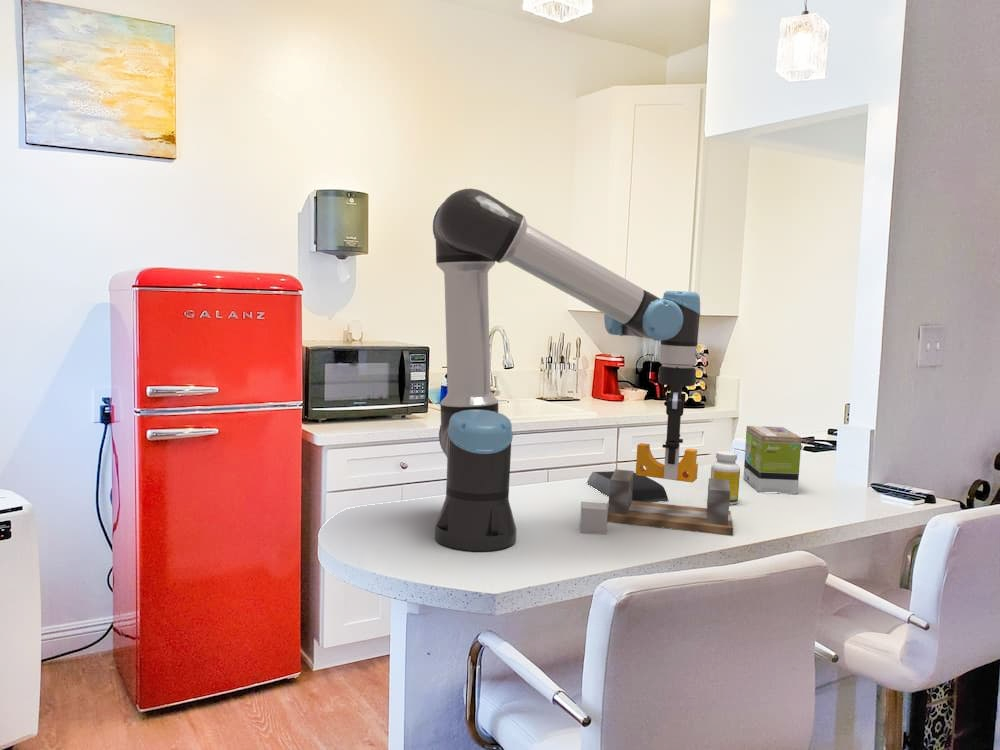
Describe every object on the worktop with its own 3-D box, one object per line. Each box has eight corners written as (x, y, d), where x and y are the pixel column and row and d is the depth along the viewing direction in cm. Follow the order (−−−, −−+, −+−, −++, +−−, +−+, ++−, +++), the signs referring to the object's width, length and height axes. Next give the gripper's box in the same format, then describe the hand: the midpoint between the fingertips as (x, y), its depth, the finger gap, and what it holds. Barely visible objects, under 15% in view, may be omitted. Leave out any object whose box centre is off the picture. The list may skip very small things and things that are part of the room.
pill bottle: (739, 506, 182) (743, 456, 181) (710, 504, 183) (714, 454, 182) (735, 499, 188) (739, 451, 187) (707, 497, 189) (711, 449, 188)
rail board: (602, 521, 164) (604, 480, 163) (609, 504, 178) (611, 467, 177) (732, 535, 158) (735, 493, 157) (729, 517, 172) (732, 479, 171)
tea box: (741, 479, 211) (745, 424, 210) (779, 481, 211) (784, 426, 210) (757, 493, 196) (762, 434, 195) (798, 495, 196) (803, 436, 195)
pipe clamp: (696, 478, 167) (698, 448, 166) (692, 482, 163) (694, 451, 162) (641, 471, 172) (643, 442, 171) (635, 474, 168) (637, 444, 168)
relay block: (580, 533, 155) (582, 508, 155) (579, 525, 160) (581, 501, 160) (606, 534, 155) (607, 509, 155) (604, 527, 160) (606, 503, 159)
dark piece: (621, 506, 179) (622, 488, 179) (583, 486, 197) (584, 469, 197) (671, 503, 184) (672, 486, 183) (629, 484, 202) (630, 468, 201)
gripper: (696, 370, 155) (688, 487, 157) (696, 363, 173) (689, 469, 175) (657, 368, 157) (650, 483, 159) (661, 361, 174) (655, 466, 177)
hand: (670, 475), depth 167 cm, fingers closed on pipe clamp, 5 cm apart
